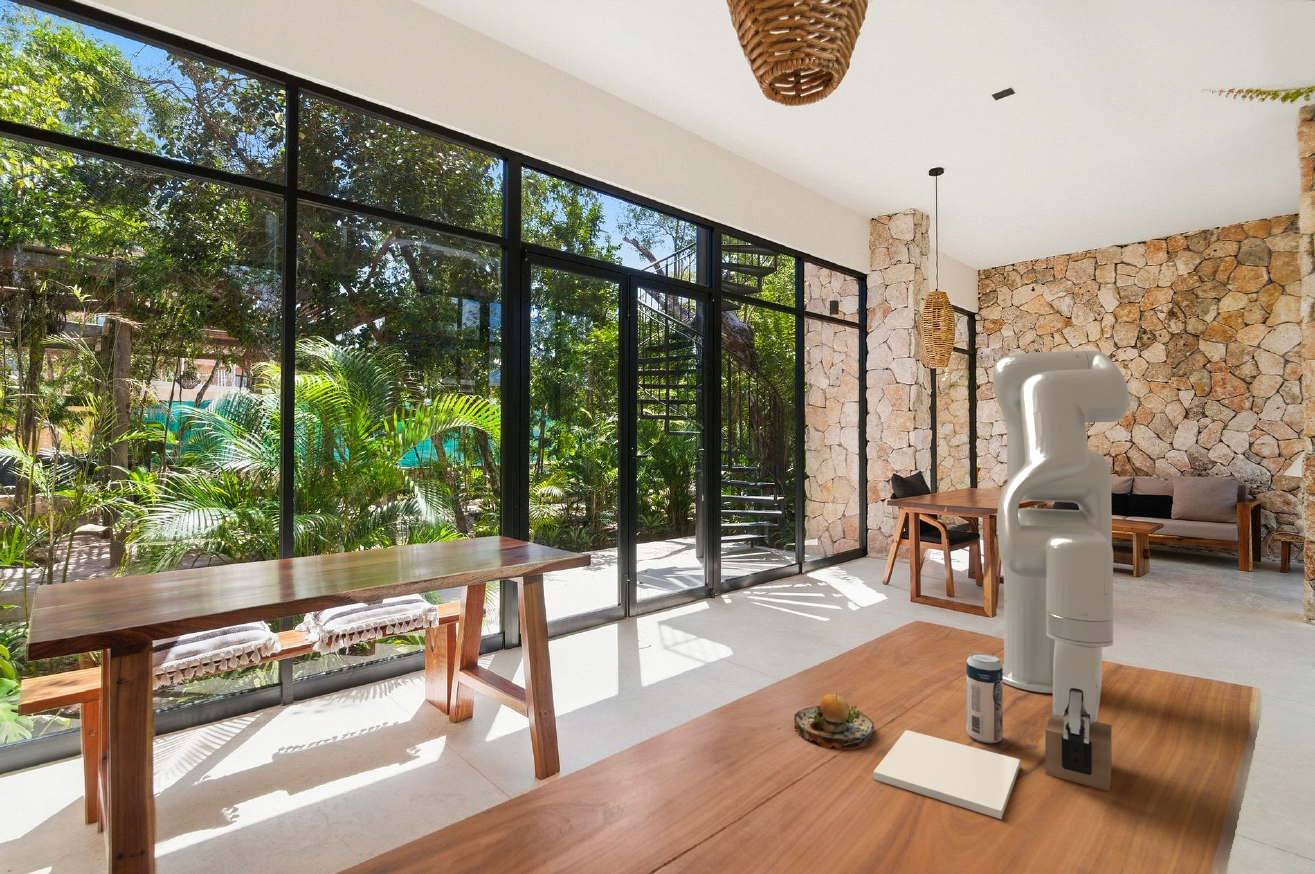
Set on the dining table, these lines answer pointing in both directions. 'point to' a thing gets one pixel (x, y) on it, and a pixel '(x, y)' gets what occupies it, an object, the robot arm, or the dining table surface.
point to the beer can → (984, 698)
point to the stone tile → (950, 772)
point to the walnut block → (1100, 753)
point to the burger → (834, 724)
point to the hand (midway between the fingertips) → (1079, 756)
